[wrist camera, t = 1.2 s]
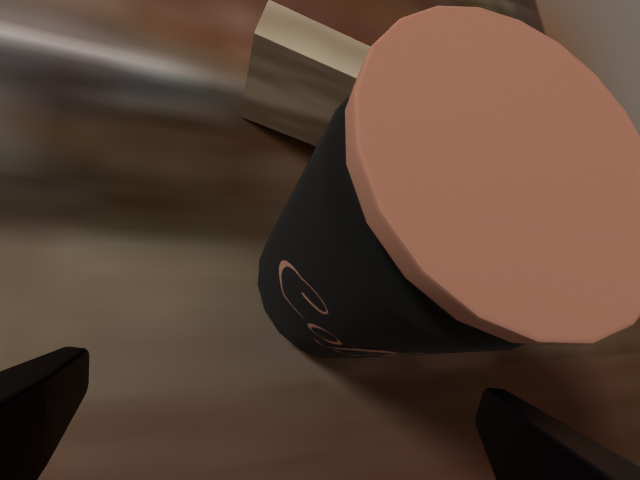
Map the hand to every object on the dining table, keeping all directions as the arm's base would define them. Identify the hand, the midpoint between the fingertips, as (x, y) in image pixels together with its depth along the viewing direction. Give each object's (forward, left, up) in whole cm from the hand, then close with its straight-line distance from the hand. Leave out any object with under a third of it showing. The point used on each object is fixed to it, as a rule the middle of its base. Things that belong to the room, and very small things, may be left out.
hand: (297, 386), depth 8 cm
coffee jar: (+7, -4, -16) cm, 19 cm away
